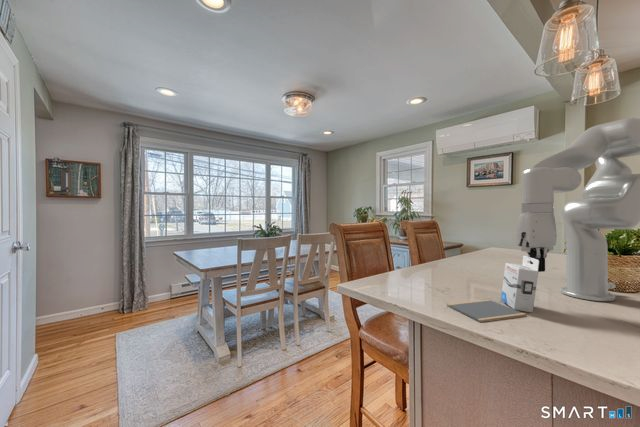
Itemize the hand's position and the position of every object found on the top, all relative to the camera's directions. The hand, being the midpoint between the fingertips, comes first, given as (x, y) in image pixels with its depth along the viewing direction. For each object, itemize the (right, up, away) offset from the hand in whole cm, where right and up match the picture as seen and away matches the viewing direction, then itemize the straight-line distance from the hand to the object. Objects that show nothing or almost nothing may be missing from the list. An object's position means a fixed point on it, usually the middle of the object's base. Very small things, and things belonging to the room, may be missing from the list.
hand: (537, 270), depth 80 cm
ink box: (-8, -10, -2) cm, 13 cm away
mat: (-18, -11, -4) cm, 22 cm away
